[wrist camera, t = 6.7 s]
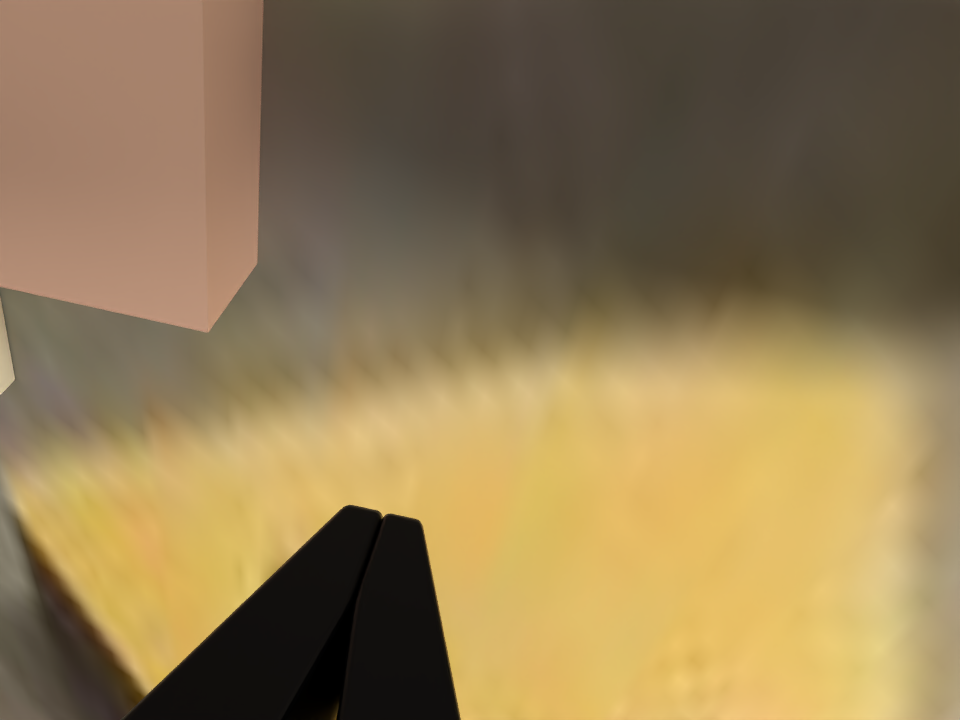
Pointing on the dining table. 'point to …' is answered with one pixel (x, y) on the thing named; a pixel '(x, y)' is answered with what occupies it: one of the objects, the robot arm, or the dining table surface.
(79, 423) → the dining table surface
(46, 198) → the terracotta block
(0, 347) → the birch stop board
